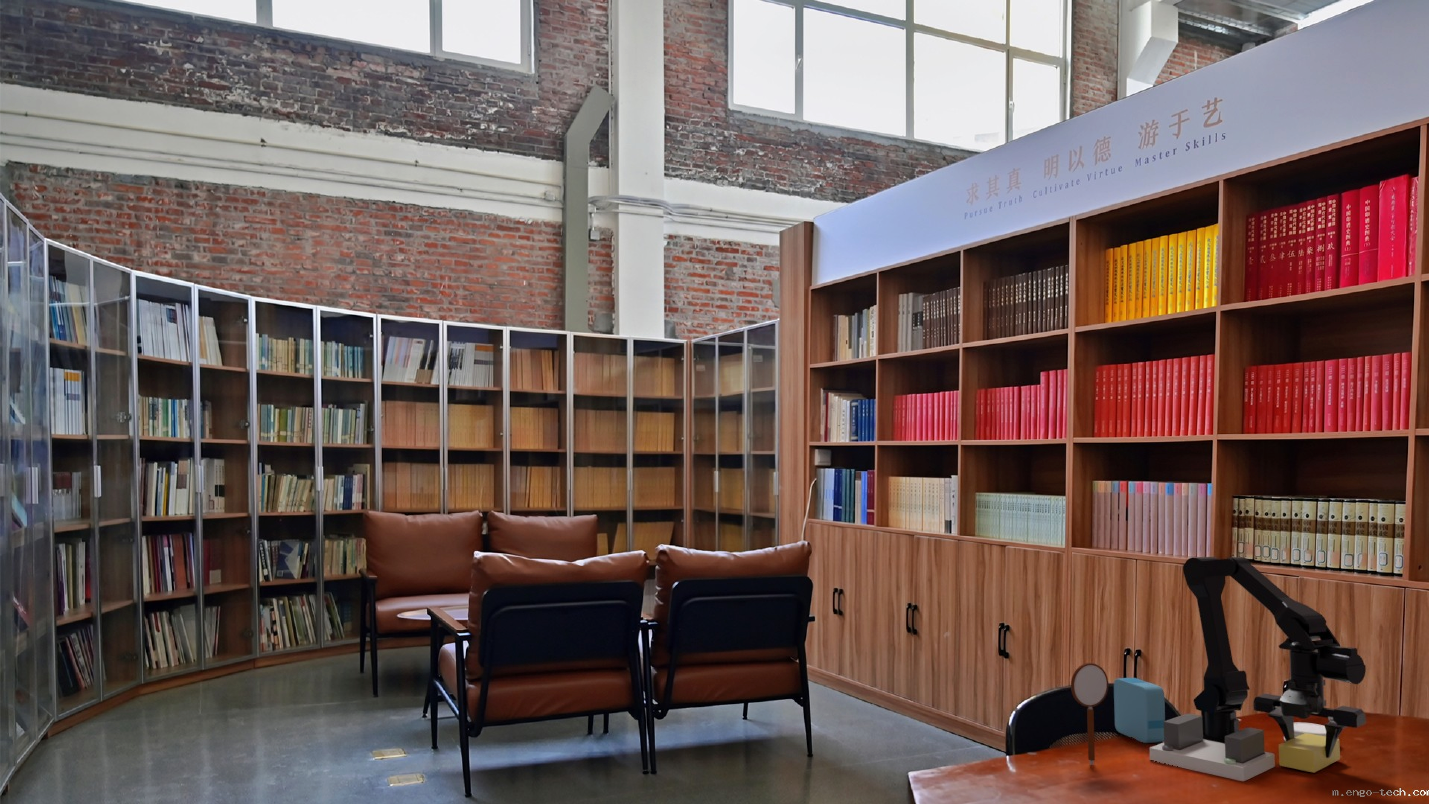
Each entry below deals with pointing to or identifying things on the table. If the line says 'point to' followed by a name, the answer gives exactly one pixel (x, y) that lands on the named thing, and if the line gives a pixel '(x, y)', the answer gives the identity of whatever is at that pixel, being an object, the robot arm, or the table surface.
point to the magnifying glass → (1089, 695)
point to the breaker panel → (1211, 760)
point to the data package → (1139, 709)
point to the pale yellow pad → (1307, 753)
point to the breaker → (1183, 731)
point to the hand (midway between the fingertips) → (1309, 753)
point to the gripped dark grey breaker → (1244, 745)
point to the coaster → (1308, 729)
